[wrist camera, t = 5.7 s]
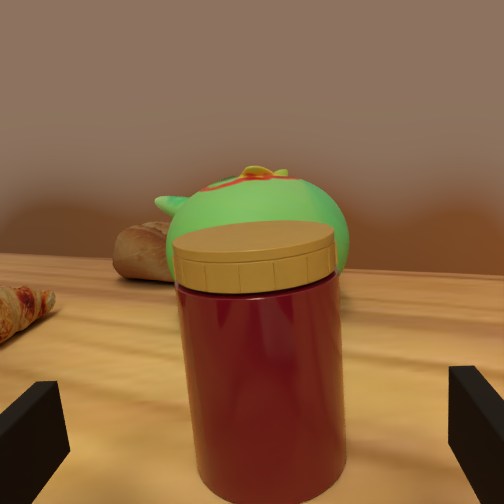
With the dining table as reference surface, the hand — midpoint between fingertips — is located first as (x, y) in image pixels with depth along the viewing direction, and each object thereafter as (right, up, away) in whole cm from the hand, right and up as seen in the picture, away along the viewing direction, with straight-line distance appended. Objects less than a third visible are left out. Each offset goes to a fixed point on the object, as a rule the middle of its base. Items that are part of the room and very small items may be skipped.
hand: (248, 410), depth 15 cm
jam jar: (+1, -6, +9) cm, 11 cm away
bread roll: (-12, +1, +47) cm, 48 cm away
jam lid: (0, +6, +7) cm, 9 cm away
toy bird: (+1, -1, +32) cm, 32 cm away
